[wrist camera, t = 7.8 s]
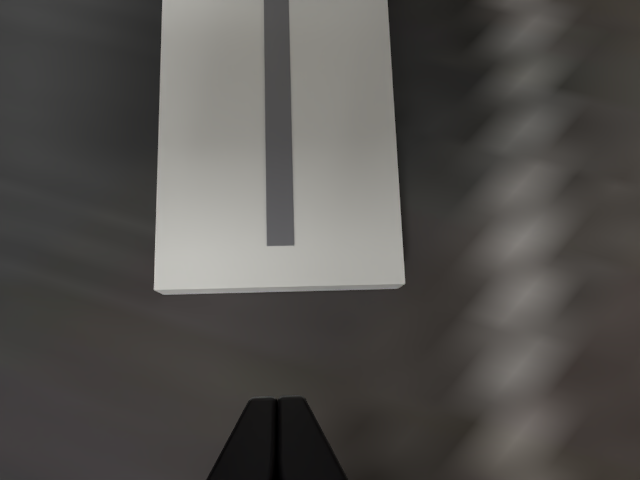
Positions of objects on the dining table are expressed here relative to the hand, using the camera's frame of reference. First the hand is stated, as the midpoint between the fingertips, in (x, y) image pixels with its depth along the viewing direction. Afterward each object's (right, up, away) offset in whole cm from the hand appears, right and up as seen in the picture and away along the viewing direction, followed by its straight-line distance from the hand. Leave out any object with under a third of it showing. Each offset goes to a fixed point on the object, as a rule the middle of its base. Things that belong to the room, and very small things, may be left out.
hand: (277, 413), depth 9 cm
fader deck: (-1, +8, +14) cm, 16 cm away
